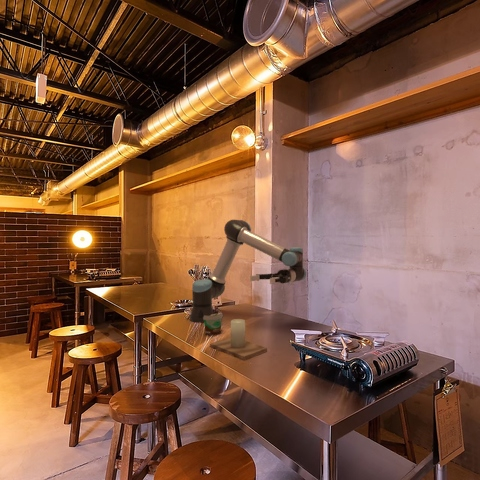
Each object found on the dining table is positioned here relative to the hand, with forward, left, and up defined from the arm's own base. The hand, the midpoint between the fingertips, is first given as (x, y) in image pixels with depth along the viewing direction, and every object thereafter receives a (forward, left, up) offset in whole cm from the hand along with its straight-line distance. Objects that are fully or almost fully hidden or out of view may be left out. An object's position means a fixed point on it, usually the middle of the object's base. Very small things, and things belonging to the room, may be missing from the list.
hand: (260, 279), depth 161 cm
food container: (-18, -15, -28) cm, 36 cm away
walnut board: (+7, -23, -28) cm, 37 cm away
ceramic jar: (+7, -23, -26) cm, 35 cm away
